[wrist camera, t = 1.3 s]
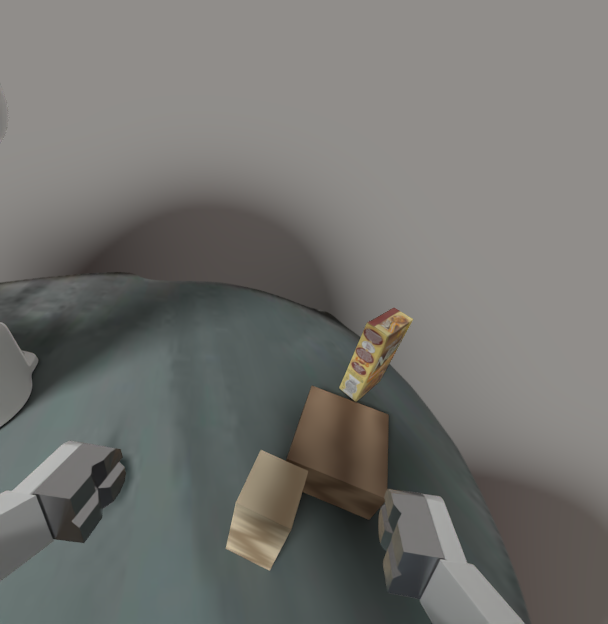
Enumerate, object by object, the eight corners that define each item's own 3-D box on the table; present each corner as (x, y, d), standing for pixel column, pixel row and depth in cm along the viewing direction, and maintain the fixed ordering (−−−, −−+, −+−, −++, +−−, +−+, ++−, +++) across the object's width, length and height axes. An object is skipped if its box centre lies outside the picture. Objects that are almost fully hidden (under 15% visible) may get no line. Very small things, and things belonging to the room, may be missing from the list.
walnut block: (278, 483, 36) (287, 458, 33) (302, 410, 46) (311, 385, 43) (368, 520, 35) (387, 499, 32) (373, 437, 45) (388, 414, 42)
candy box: (355, 403, 50) (390, 337, 41) (337, 387, 52) (366, 321, 43) (380, 381, 56) (415, 319, 47) (363, 367, 58) (393, 306, 49)
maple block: (225, 548, 30) (235, 502, 24) (247, 499, 34) (260, 449, 28) (269, 570, 29) (291, 529, 23) (286, 517, 33) (308, 471, 27)
